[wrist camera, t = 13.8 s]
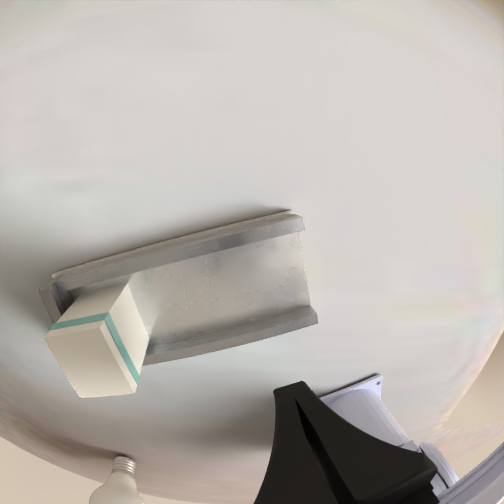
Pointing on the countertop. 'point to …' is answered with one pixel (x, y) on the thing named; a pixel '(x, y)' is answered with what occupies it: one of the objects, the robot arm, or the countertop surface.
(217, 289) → the rail plate
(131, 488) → the lightbulb
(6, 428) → the countertop surface
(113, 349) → the block
